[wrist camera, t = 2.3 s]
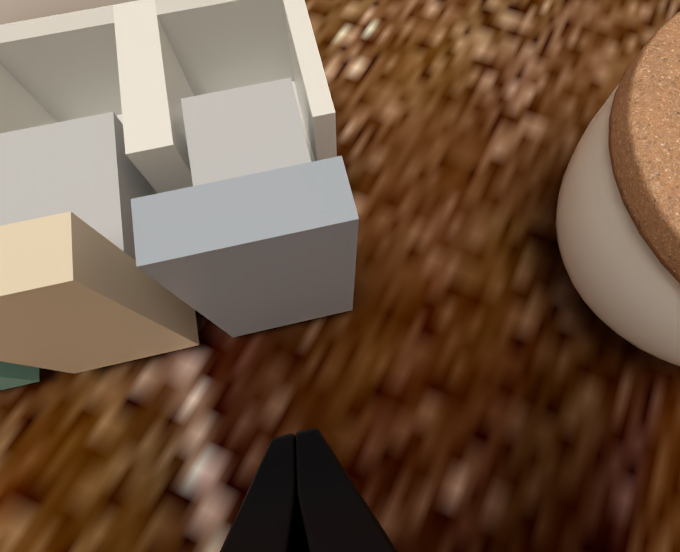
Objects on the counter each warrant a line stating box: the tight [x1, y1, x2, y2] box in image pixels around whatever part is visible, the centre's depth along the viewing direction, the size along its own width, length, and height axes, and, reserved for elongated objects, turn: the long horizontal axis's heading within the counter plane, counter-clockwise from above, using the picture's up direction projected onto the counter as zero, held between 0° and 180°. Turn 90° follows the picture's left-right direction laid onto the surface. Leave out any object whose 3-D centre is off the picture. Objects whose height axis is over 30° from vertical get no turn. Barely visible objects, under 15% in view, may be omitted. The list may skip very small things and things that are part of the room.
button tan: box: [0, 112, 199, 374], centre depth 13 cm, size 7×4×8 cm, turn 13°
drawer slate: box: [131, 78, 359, 337], centre depth 13 cm, size 7×4×8 cm, turn 13°
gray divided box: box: [0, 0, 337, 193], centre depth 16 cm, size 6×17×6 cm, turn 103°
